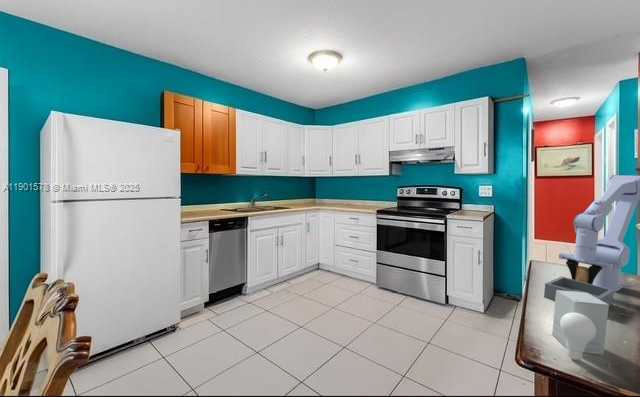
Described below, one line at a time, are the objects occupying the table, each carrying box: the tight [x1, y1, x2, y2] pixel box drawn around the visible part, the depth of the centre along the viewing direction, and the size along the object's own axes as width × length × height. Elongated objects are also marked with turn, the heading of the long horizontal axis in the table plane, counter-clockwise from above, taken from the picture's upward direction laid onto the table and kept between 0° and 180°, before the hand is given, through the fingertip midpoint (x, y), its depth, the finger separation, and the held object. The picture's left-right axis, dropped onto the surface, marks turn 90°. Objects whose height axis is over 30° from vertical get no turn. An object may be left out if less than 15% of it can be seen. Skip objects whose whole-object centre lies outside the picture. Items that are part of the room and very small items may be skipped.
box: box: [543, 276, 615, 308], centre depth 96 cm, size 14×14×5 cm
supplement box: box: [551, 290, 610, 355], centre depth 71 cm, size 7×7×13 cm
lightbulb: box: [560, 313, 596, 361], centre depth 65 cm, size 6×6×11 cm
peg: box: [575, 265, 589, 283], centre depth 104 cm, size 4×4×8 cm
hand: (581, 282), depth 105 cm, fingers closed on peg, 4 cm apart
